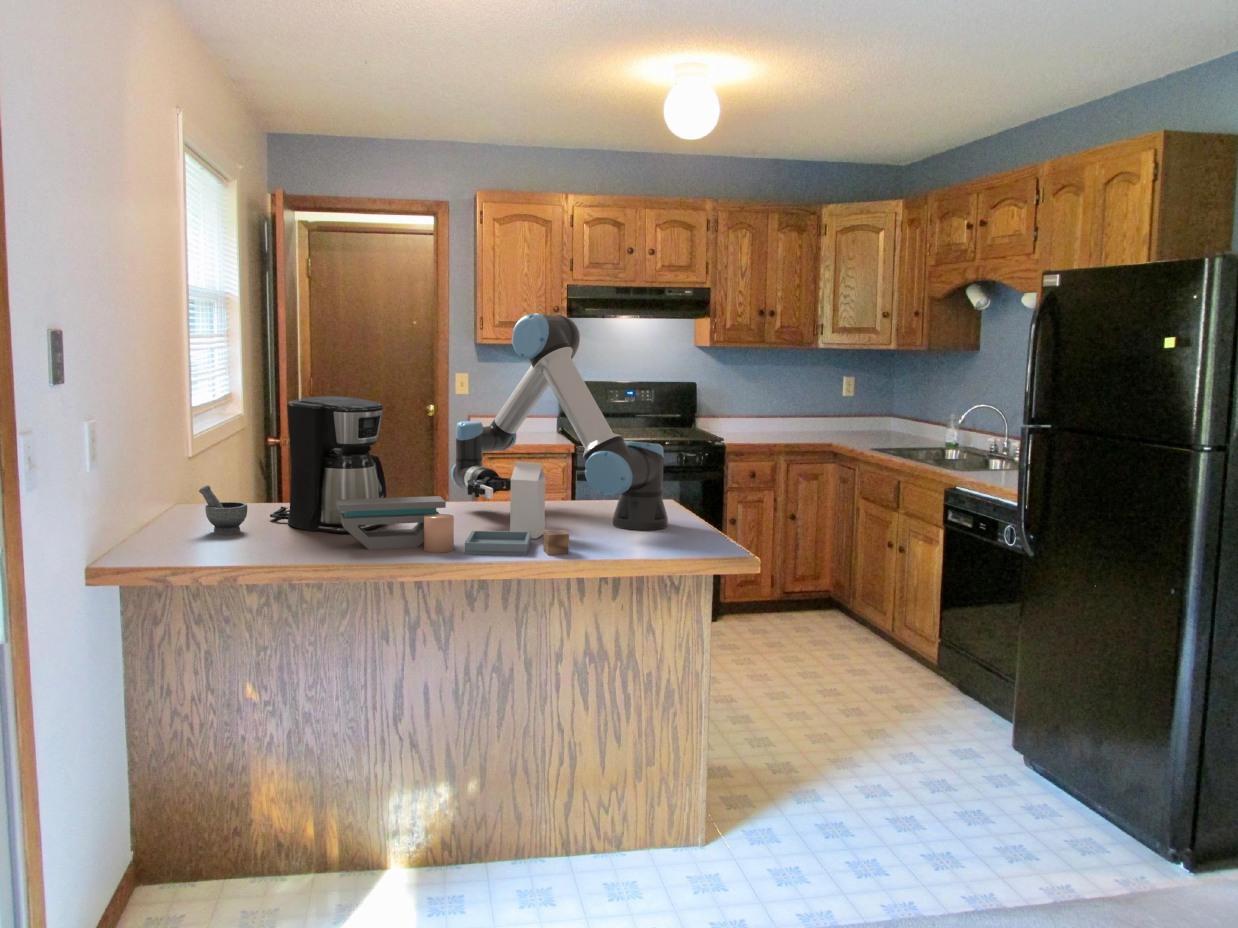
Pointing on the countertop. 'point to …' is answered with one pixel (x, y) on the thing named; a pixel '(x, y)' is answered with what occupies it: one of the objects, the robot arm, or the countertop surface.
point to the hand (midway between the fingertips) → (515, 492)
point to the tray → (498, 542)
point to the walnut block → (556, 542)
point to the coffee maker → (331, 459)
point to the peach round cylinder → (438, 533)
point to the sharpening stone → (388, 519)
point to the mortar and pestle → (223, 513)
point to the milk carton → (527, 499)
